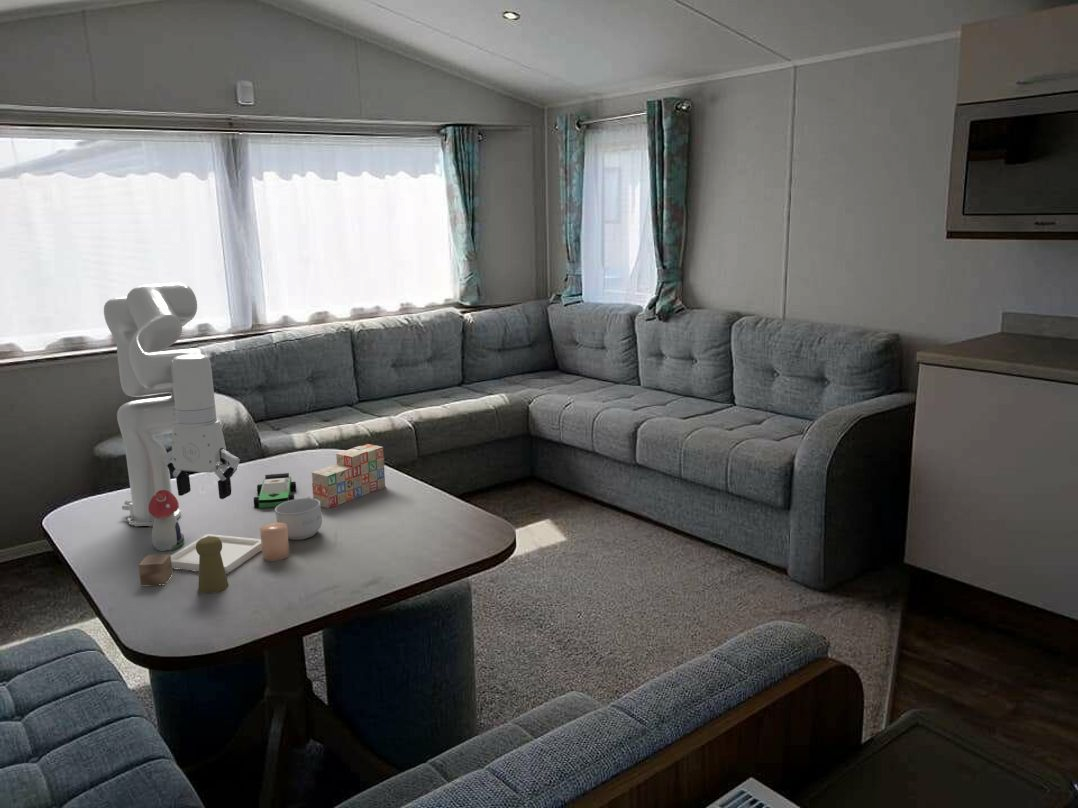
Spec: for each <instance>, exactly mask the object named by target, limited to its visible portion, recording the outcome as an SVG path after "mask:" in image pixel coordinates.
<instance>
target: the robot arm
mask: <svg viewBox="0 0 1078 808" xmlns="http://www.w3.org/2000/svg"><path fill="white" fill-rule="evenodd" d="M197 311H198V301H197V297H196V295H195V293H194V291H193V289H192V288H191V287H190V286H189V285H188V284H185V283H182V282H169V283H151V284H150V283H149V284H141V285H137V286H136V287H133V288H132V289H131V290H129V292H128V293H127V296H119V297H114V298H111V299H108V300H107V301H106V302H105V303H104V306H103V316H104V320H105V321H104V322H105V324H106V325H107V327H108V329H109V331H110V333H111V335H112V337H113V339H114V342H115V344H116V351H117V352H116V354H117V362H118V371H119V372H118V373H119V374H118V375H119V380H120V385H121V389H122V391H123V393H124V394H125V395H126V396H129V397H134V398H135V397H139V398H140V397H147V396H148V397H149V396H156V395H164V394H170V395H168V396H160V397H150V398H143V399H136V400H131V401H128V402H126V403H123V404H122V405H121V406H119V408H118V410H117V412H116V418H117V424H118V426H119V430H120V434H121V437H122V441H123V445H124V450H125V458H126V464H127V472H128V480H129V487H130V495H131V499H130V500H129V499H126V500H125V501H124V503H123V504H122V506H121V509H122V511H129V513H130V515H128V516H127V523H128V522H129V523H130V524H132V525H131V526H133V525H136V526H135V527H138V526H149V527H153V524H154V521H155V517H154V516H152V515H151V514H150V513H149V511H148V506H149V503H150V501H151V499H152V497H153V496H154V495H155V494H156V493H157V492H158V491H160V490H167V491H169V492H171V493H172V494H173V491H172V483H171V474H170V473H172V476H173V477H174V478H175V479H176V489H177V495H178V496H184V495H186V494H188V493H190V492H191V481H190V480H191V479H190V473H187V472H191V473H192V472H193V473H207V474H208V473H213V472H214V473H215V475H216V476H217V477H218V480H217V486H218V487H217V488H218V489H217V490H218V497H219V499H220V500H225V499H226V498H229V497H230V496H231V495H232V483H231V482H232V481H231V478H232V477H233V476H234V474H235V473H236V471H237V470H238V466H239V464H240V462H241V459H240V458H239V457H237V456H236V455H234V454H232V453H231V452H229V450H228V451H227V447H226V442H225V436H224V433H223V429H222V425H221V423H220V421H219V420H217V411H216V402H215V401H216V400H215V390H214V389H215V388H214V381H213V372H212V363H211V359H210V358H209V356H208V354H206V353H205V351H204V350H202V349H200V348H196V347H195V348H194V347H193V348H192V347H191V348H180V349H170V350H169V349H168V350H165V349H167V348H169V347H171V346H172V345H173V344H175V343H176V342H177V341H179V339H180V338H181V336H182V332H183V327H184V326H186V325H187V324H188V323H189V322H190V321H192V320H193V319H194V317H195V316H196V315H197ZM166 434H171V450H170V451H168V452H167V450H166V448H165V446H164V445H163V444H161V442H159V441H158V440H156V438H155V437H158V436H162V435H166ZM227 464H229V466H227ZM170 471H171V472H170ZM181 512H182V511H181V509H180V507H179V508H178V510H177V511H175V512H174V513H173V514H174V516H175V517H176V519H177V520H178V519H179V518H180V517H181V516H182V515H181V514H182V513H181ZM179 516H180V517H179ZM129 523H128V524H129ZM130 524H129V525H130Z"/></svg>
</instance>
